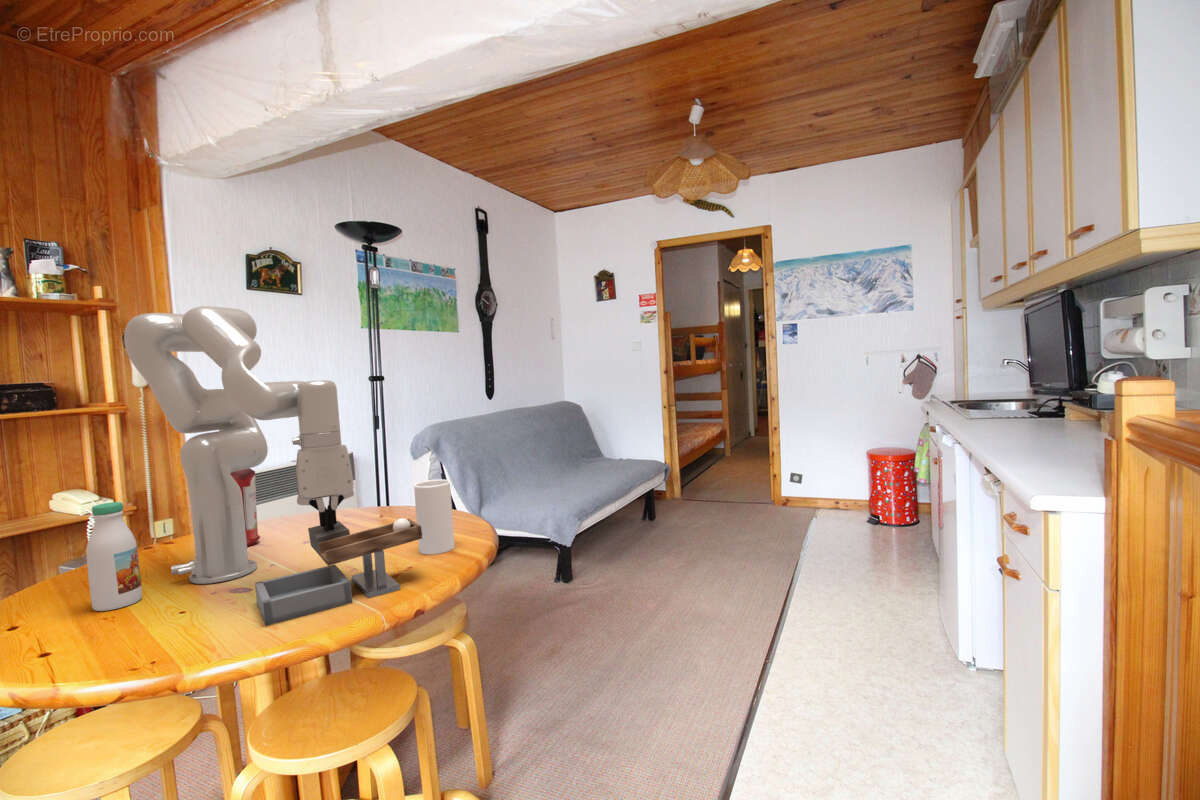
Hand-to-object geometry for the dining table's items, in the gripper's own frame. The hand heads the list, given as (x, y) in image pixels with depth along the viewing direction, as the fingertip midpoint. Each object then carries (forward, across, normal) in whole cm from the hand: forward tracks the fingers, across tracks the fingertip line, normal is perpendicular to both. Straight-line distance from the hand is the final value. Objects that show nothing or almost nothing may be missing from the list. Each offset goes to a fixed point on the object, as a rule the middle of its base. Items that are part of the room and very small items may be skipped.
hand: (328, 528), depth 121 cm
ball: (0, +12, -9) cm, 15 cm away
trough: (+3, +6, -4) cm, 8 cm away
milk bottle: (+11, -36, +18) cm, 42 cm away
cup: (+11, +24, +5) cm, 27 cm away
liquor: (+11, -12, +47) cm, 50 cm away
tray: (+11, -7, -9) cm, 16 cm away
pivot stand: (+11, +6, -9) cm, 15 cm away
